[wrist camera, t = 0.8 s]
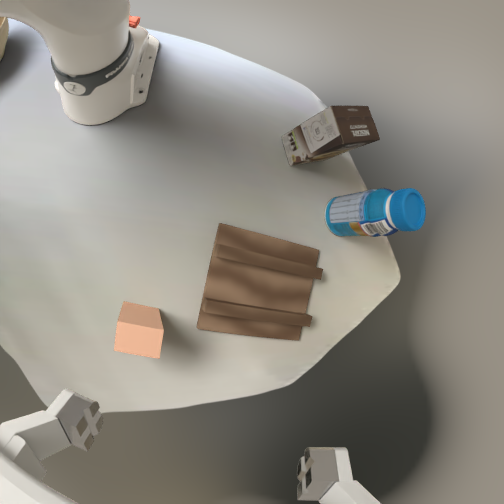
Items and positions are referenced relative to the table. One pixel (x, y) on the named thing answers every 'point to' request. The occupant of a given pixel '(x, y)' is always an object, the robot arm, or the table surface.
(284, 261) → the walnut rack
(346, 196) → the beverage bottle
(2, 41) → the planter bowl
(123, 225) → the table surface
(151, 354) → the tall peach pillar
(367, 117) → the coffee box
